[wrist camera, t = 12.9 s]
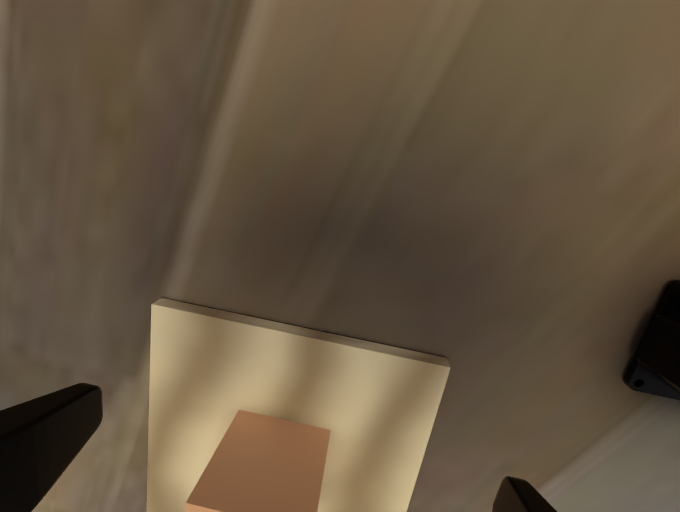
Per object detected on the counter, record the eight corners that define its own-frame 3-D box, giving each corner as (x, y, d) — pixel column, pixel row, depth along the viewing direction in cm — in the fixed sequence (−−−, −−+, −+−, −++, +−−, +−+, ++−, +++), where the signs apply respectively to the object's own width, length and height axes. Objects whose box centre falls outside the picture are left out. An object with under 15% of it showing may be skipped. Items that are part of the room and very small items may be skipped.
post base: (446, 357, 19) (475, 427, 14) (384, 567, 24) (387, 679, 18) (162, 298, 20) (86, 341, 15) (155, 510, 25) (95, 602, 19)
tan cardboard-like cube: (330, 429, 20) (313, 533, 14) (316, 501, 22) (295, 621, 16) (239, 409, 20) (185, 502, 14) (231, 481, 22) (180, 591, 16)
